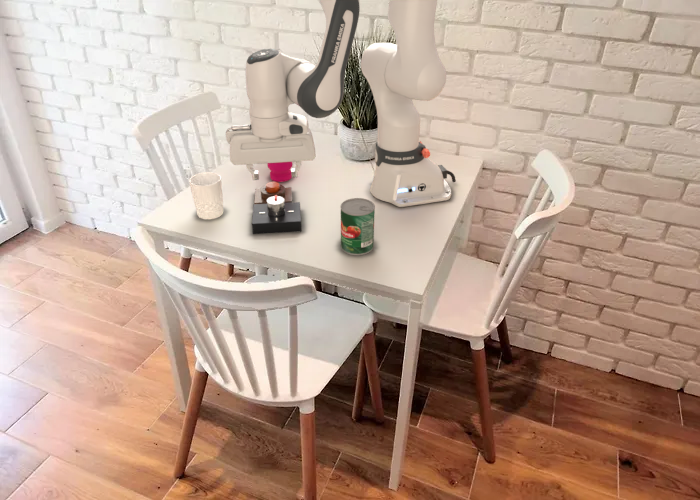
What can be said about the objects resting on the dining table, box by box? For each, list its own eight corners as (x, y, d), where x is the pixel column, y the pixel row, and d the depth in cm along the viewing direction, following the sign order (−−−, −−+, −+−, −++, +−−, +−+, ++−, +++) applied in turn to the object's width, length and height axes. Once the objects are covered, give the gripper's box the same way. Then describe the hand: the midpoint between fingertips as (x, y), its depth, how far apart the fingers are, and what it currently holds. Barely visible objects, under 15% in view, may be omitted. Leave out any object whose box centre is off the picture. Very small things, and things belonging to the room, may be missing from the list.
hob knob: (284, 216, 140) (283, 203, 138) (267, 216, 139) (265, 203, 137) (285, 207, 143) (284, 194, 141) (268, 208, 143) (267, 195, 141)
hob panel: (300, 211, 148) (299, 201, 146) (301, 231, 139) (301, 220, 138) (254, 214, 147) (253, 203, 145) (252, 234, 138) (251, 223, 137)
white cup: (215, 223, 143) (210, 188, 137) (189, 217, 145) (182, 183, 140) (231, 209, 149) (226, 174, 143) (205, 203, 151) (200, 170, 146)
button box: (291, 192, 157) (291, 181, 155) (292, 206, 150) (291, 195, 148) (255, 194, 156) (254, 183, 154) (254, 208, 149) (253, 196, 147)
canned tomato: (335, 250, 132) (334, 210, 126) (348, 234, 138) (348, 195, 132) (366, 258, 130) (367, 217, 124) (378, 241, 136) (380, 201, 130)
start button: (279, 187, 153) (279, 181, 152) (279, 193, 150) (279, 187, 149) (266, 187, 153) (265, 181, 152) (266, 193, 150) (265, 187, 149)
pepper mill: (289, 184, 161) (284, 117, 150) (265, 181, 162) (259, 115, 151) (296, 173, 167) (292, 108, 156) (273, 171, 168) (267, 106, 157)
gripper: (223, 131, 126) (231, 186, 133) (314, 126, 127) (317, 180, 135) (225, 121, 131) (233, 174, 139) (312, 116, 133) (315, 169, 140)
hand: (275, 177), depth 137 cm, fingers open, 8 cm apart
